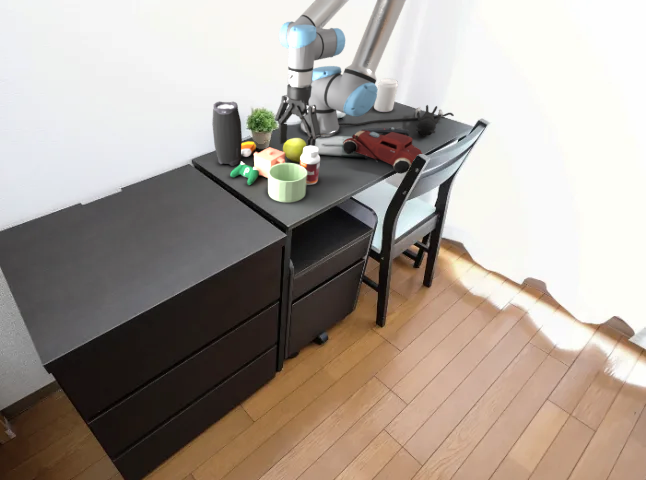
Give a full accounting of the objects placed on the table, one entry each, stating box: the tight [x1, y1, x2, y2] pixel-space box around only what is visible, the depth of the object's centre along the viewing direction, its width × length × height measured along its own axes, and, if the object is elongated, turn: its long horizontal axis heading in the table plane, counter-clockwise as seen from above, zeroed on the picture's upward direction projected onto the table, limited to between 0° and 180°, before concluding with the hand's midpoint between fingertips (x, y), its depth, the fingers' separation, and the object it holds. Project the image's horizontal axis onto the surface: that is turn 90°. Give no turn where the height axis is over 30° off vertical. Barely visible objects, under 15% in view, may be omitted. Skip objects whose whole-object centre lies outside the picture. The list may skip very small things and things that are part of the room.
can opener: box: [360, 126, 410, 137], centre depth 142 cm, size 18×7×6 cm, turn 71°
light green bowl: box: [267, 162, 307, 203], centre depth 115 cm, size 12×12×7 cm
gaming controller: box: [229, 161, 259, 186], centre depth 124 cm, size 9×4×6 cm
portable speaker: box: [211, 101, 243, 167], centre depth 127 cm, size 9×9×20 cm
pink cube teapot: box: [253, 147, 286, 179], centre depth 124 cm, size 8×12×8 cm, turn 51°
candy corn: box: [241, 140, 257, 158], centre depth 137 cm, size 6×3×8 cm
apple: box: [282, 137, 307, 163], centre depth 131 cm, size 8×9×8 cm
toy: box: [414, 104, 444, 137], centre depth 152 cm, size 11×6×30 cm
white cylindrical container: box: [373, 78, 399, 113], centre depth 164 cm, size 8×8×12 cm
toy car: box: [342, 129, 423, 175], centre depth 129 cm, size 15×28×10 cm, turn 47°
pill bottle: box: [299, 145, 321, 186], centre depth 119 cm, size 6×6×11 cm
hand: (295, 149), depth 130 cm, fingers open, 13 cm apart
